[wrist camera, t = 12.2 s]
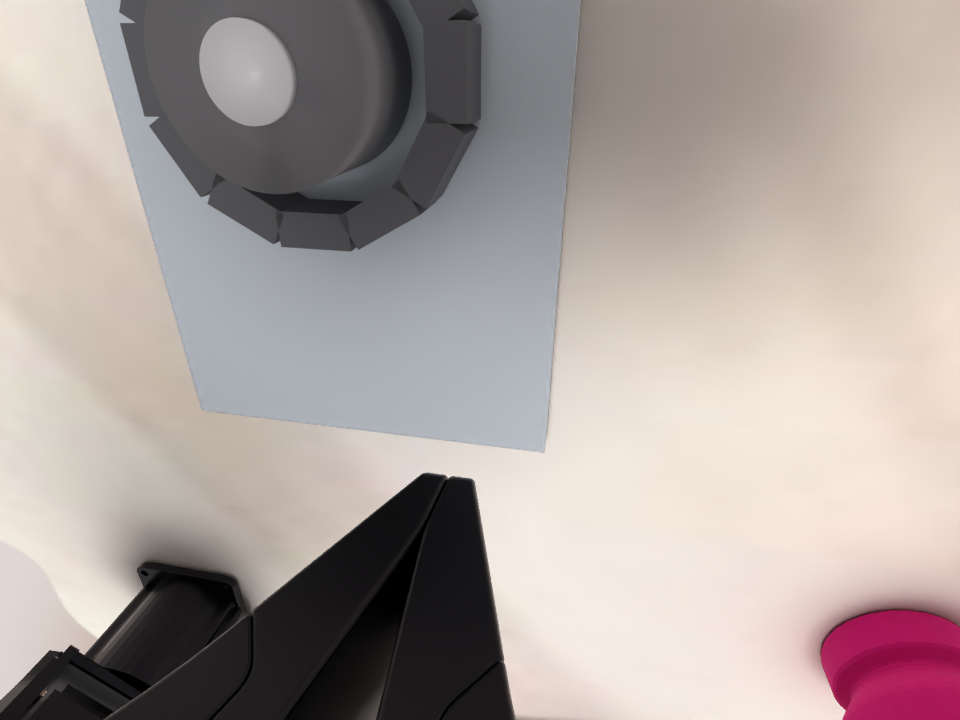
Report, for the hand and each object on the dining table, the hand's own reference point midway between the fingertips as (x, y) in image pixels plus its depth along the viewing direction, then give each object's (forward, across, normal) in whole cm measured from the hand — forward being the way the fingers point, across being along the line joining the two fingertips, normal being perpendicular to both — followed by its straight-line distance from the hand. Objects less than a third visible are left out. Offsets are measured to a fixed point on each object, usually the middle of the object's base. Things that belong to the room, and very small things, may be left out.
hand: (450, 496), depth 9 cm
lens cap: (+12, +7, -6) cm, 15 cm away
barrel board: (+13, +7, -2) cm, 15 cm away
